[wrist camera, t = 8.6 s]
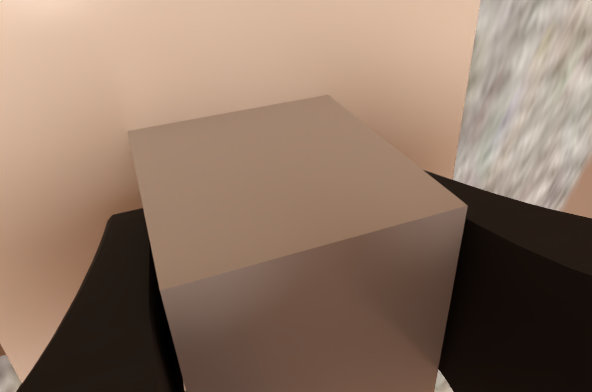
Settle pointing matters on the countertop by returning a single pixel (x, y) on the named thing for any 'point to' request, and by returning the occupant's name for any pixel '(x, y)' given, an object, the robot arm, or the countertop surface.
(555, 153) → the countertop surface
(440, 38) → the cover
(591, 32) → the countertop surface
